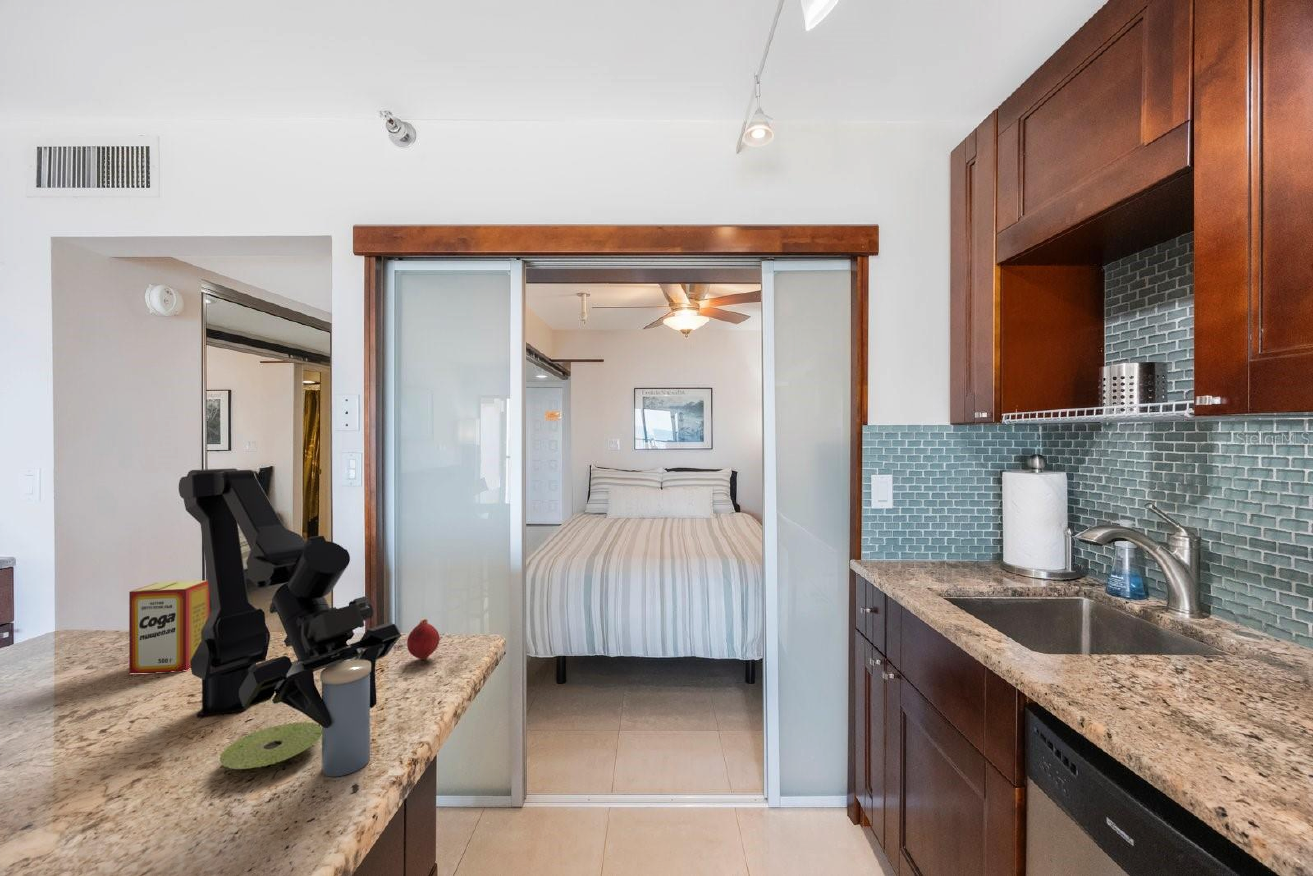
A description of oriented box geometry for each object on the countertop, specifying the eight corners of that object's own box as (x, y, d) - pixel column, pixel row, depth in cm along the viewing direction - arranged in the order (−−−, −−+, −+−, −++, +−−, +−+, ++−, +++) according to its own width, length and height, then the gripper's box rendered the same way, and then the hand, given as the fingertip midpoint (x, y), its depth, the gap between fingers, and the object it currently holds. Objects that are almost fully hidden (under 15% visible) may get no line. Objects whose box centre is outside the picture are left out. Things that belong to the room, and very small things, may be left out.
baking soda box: (209, 657, 107) (209, 578, 107) (186, 671, 101) (186, 587, 101) (156, 661, 106) (156, 581, 106) (129, 675, 99) (129, 589, 99)
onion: (427, 667, 101) (426, 624, 101) (400, 665, 102) (400, 623, 102) (445, 655, 106) (444, 615, 107) (419, 653, 108) (419, 613, 108)
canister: (314, 781, 66) (313, 680, 66) (328, 755, 72) (328, 662, 72) (365, 772, 68) (365, 674, 68) (375, 747, 73) (375, 657, 74)
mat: (244, 742, 76) (244, 728, 76) (333, 729, 79) (332, 716, 79) (200, 791, 65) (200, 775, 65) (305, 774, 68) (305, 758, 68)
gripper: (249, 600, 64) (297, 714, 58) (393, 568, 80) (441, 655, 74) (220, 653, 68) (262, 765, 62) (363, 612, 84) (406, 698, 78)
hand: (352, 715), depth 69 cm, fingers closed on canister, 5 cm apart
